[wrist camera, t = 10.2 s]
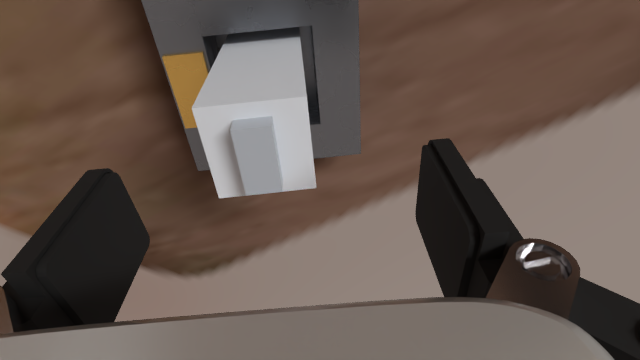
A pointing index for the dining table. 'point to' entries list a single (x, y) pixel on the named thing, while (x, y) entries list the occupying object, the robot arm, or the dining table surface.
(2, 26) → the dining table surface
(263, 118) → the plug
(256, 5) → the socket panel
